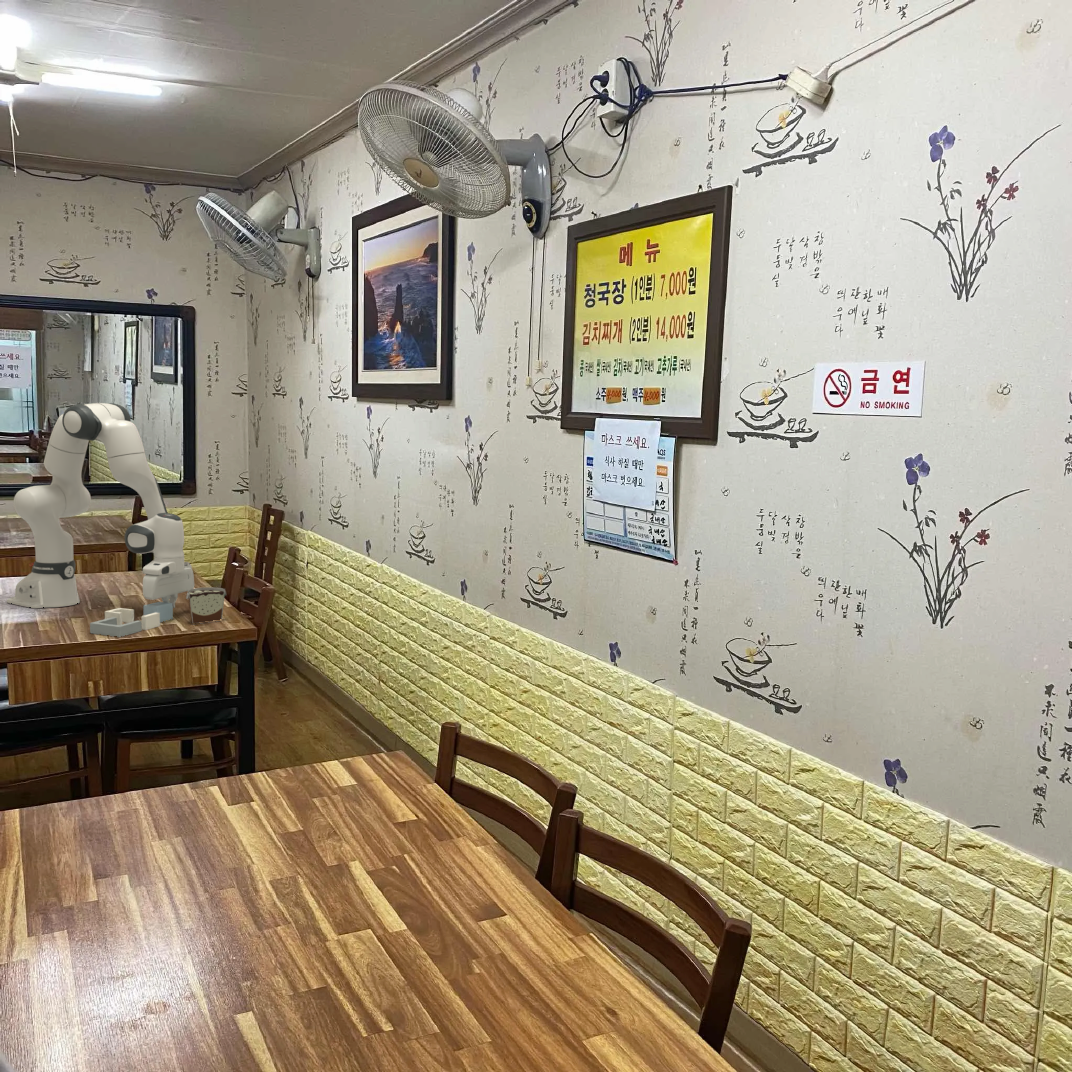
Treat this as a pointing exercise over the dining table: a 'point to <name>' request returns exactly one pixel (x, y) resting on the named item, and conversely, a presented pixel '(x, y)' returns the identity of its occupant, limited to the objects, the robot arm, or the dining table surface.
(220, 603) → the food container
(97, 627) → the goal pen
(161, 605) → the block
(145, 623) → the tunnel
